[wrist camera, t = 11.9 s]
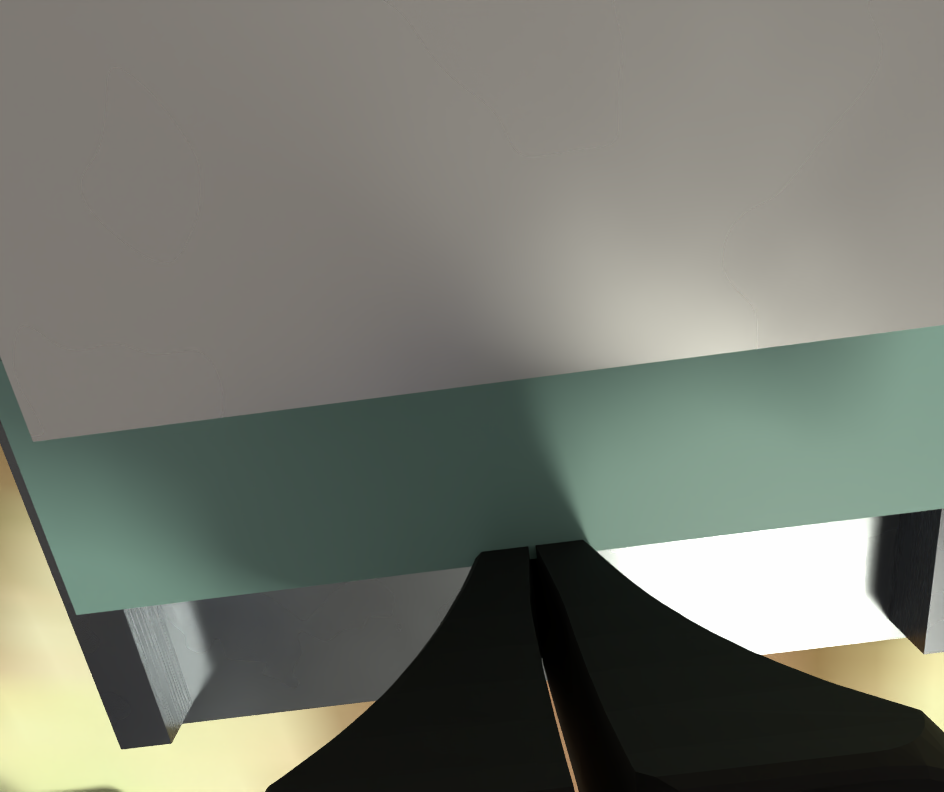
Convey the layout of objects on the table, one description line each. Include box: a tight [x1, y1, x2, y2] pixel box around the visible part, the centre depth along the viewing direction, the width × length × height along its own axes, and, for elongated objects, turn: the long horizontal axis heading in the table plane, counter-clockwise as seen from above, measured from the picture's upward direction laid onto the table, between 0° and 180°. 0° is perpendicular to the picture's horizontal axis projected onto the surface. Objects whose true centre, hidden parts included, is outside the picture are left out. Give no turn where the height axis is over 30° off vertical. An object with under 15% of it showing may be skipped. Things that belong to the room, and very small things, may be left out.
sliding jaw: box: [0, 325, 944, 615], centre depth 10 cm, size 4×14×2 cm, turn 97°
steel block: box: [0, 0, 944, 442], centre depth 7 cm, size 4×7×6 cm, turn 97°
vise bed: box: [0, 420, 944, 749], centre depth 10 cm, size 16×18×3 cm
